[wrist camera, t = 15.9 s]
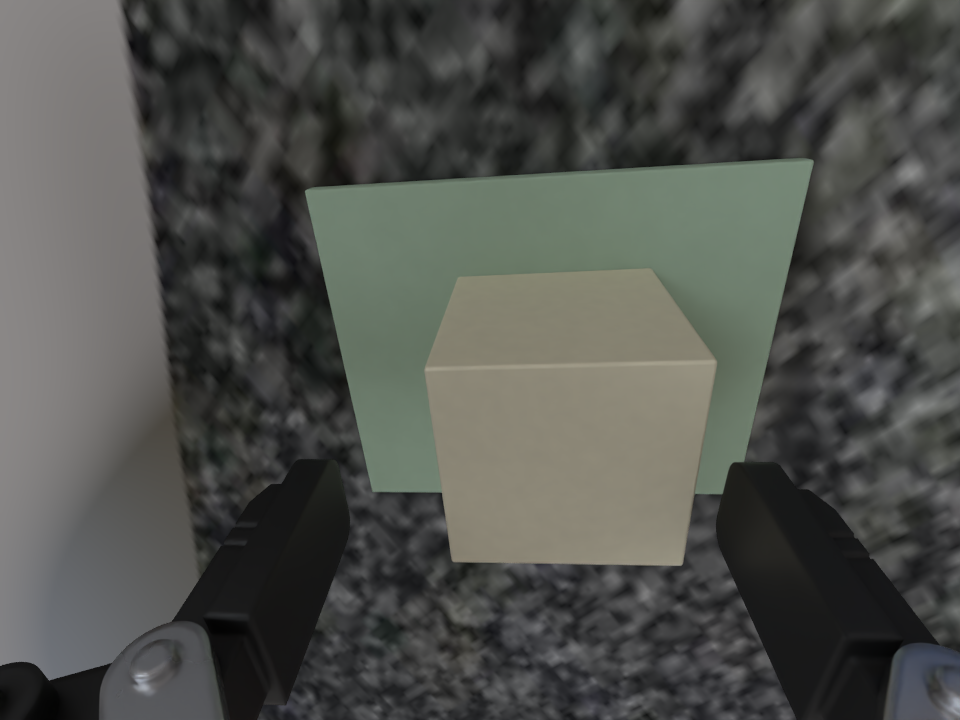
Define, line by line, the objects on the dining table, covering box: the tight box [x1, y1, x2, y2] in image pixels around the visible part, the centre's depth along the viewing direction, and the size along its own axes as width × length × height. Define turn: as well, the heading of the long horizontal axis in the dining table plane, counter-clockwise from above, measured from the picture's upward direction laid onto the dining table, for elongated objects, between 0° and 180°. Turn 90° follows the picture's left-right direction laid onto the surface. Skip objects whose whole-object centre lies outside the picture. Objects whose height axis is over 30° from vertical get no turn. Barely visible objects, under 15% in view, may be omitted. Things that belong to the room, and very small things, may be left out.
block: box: [424, 268, 717, 566], centre depth 12 cm, size 5×5×5 cm
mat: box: [305, 158, 814, 494], centre depth 14 cm, size 12×10×1 cm
